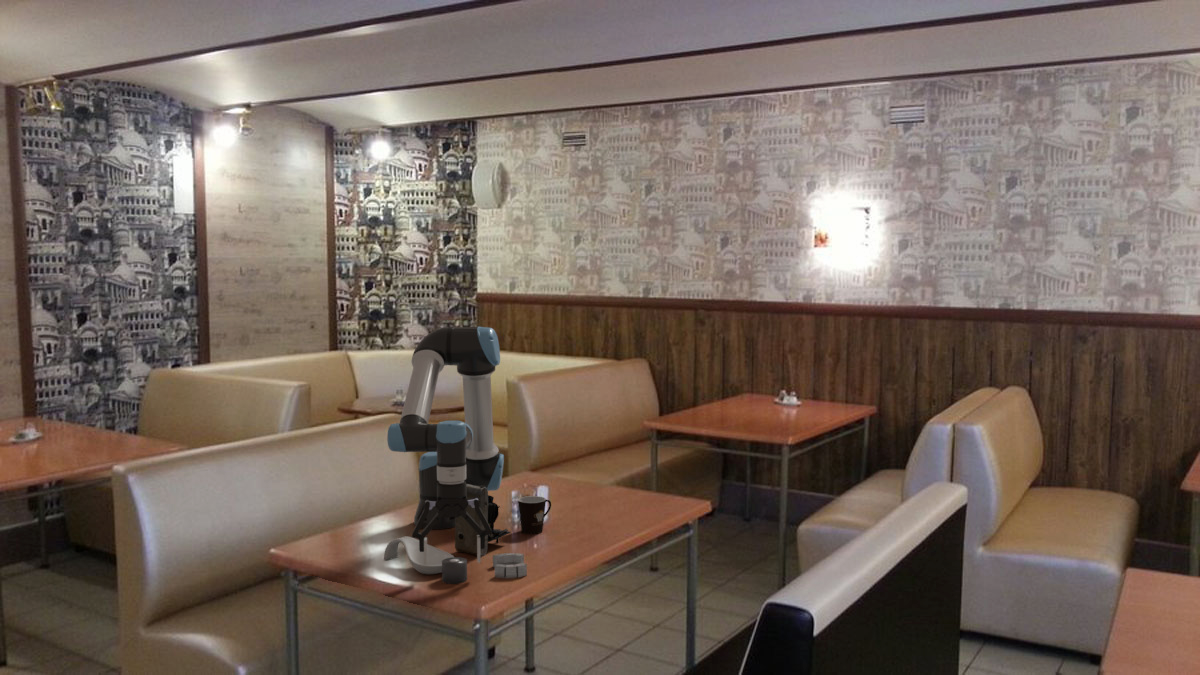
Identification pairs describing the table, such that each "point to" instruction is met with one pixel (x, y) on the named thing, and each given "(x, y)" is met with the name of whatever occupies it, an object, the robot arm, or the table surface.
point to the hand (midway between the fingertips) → (452, 562)
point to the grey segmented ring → (509, 565)
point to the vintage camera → (465, 531)
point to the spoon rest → (418, 555)
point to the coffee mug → (532, 513)
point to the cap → (454, 570)
